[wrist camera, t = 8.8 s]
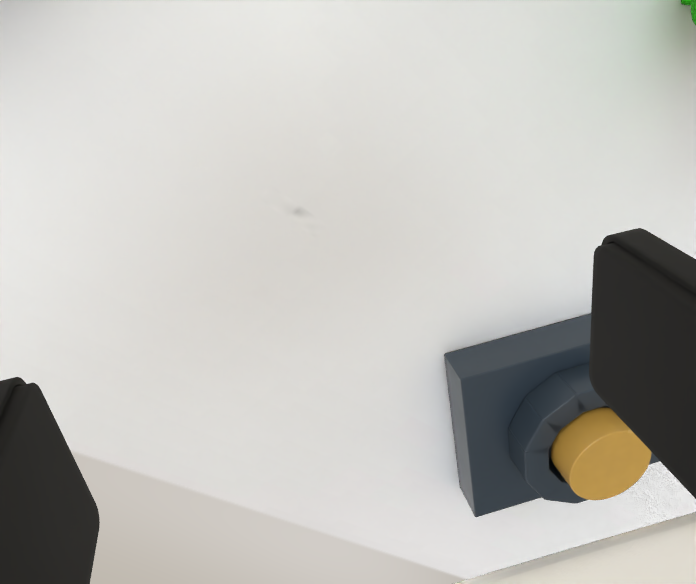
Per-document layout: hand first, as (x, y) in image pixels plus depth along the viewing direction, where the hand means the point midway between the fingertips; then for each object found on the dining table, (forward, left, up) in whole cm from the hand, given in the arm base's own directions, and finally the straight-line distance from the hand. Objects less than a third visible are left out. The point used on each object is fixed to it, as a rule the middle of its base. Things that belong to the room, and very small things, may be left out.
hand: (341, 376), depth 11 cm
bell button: (+12, -16, -12) cm, 23 cm away
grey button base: (+12, -16, -15) cm, 25 cm away
